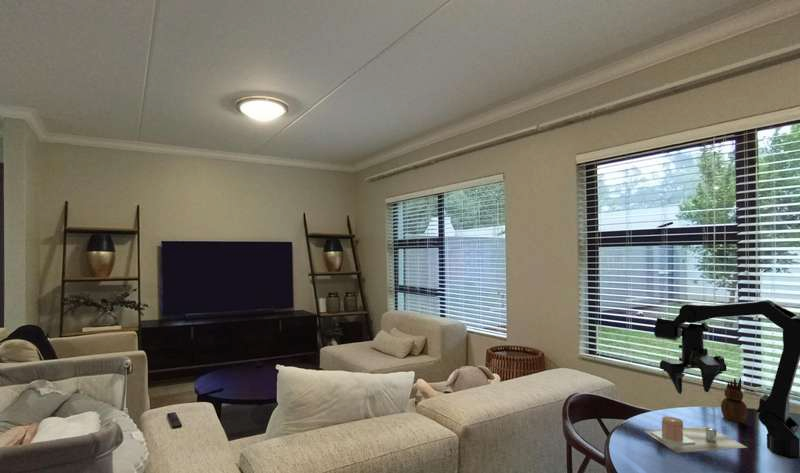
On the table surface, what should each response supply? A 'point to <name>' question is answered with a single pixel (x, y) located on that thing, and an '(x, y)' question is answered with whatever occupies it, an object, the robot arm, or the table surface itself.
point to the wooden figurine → (734, 403)
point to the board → (701, 441)
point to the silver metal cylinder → (711, 435)
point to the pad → (671, 442)
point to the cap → (672, 428)
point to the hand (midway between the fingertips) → (693, 392)
